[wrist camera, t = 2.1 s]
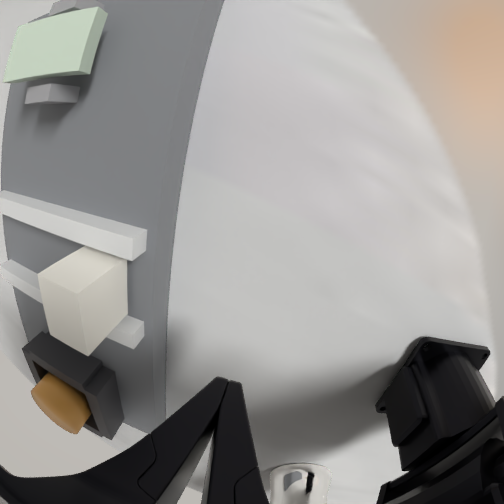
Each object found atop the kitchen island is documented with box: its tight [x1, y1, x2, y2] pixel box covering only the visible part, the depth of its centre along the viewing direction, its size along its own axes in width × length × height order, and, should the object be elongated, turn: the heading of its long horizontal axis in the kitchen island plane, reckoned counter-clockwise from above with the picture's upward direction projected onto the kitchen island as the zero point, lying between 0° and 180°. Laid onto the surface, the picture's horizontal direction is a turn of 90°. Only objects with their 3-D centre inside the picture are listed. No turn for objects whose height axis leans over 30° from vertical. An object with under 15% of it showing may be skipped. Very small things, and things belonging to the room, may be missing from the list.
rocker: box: [3, 7, 108, 83], centre depth 7 cm, size 5×3×1 cm, turn 78°
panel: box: [0, 0, 224, 440], centre depth 13 cm, size 13×29×4 cm, turn 168°
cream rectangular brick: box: [37, 245, 128, 356], centre depth 11 cm, size 2×3×4 cm
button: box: [31, 372, 92, 434], centre depth 14 cm, size 4×4×2 cm
